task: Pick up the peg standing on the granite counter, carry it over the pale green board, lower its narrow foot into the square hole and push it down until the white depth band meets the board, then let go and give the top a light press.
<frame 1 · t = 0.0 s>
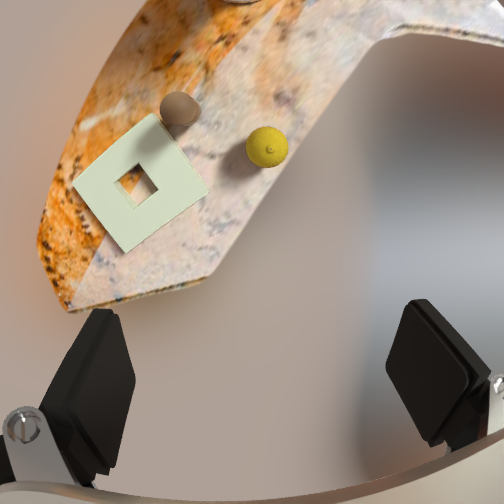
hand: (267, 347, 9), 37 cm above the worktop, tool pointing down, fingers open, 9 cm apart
peg: (189, 112, 39), on the worktop
board: (139, 183, 43), on the worktop
lemon: (263, 145, 42), on the worktop
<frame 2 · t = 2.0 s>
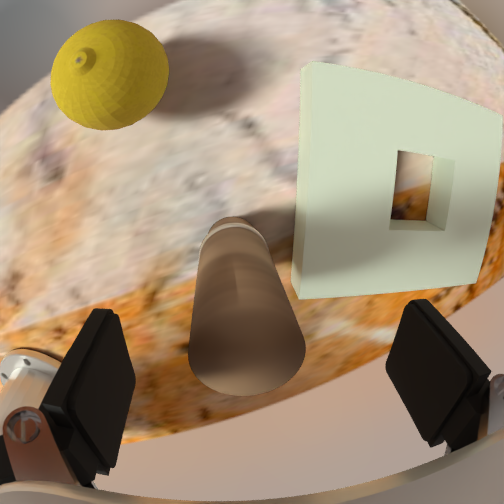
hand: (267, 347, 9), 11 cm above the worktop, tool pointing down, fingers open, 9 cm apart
peg: (232, 241, 20), on the worktop
board: (404, 185, 19), on the worktop
lemon: (134, 86, 15), on the worktop
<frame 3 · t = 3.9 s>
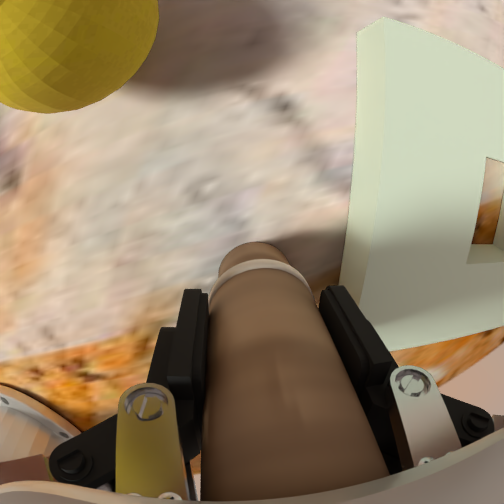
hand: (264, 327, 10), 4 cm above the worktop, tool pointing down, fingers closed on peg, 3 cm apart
peg: (254, 275, 14), on the worktop, touching gripper
board: (476, 201, 13), on the worktop
lemon: (112, 51, 9), on the worktop
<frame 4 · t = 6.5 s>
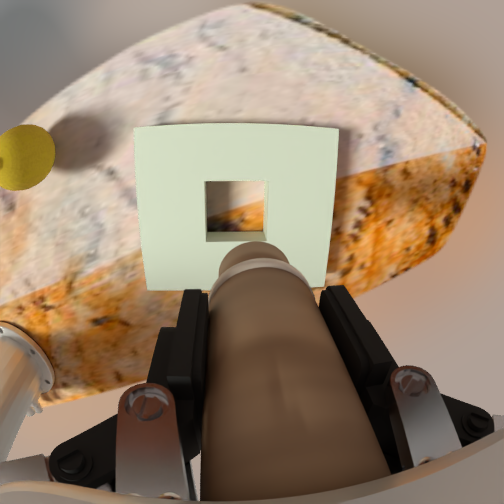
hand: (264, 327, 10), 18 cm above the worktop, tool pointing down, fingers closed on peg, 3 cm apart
peg: (254, 275, 14), point 14 cm above the worktop, touching gripper
board: (235, 204, 27), on the worktop
lemon: (47, 151, 23), on the worktop
when the fingers open (4 cm above the worktop, at t = 9.3 s): peg stays where it is, resting in board.
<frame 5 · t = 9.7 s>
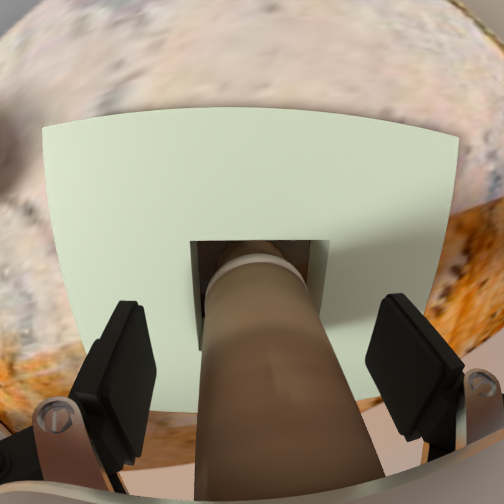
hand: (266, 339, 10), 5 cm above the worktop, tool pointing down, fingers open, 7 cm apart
peg: (251, 271, 14), resting in board
board: (253, 271, 14), on the worktop
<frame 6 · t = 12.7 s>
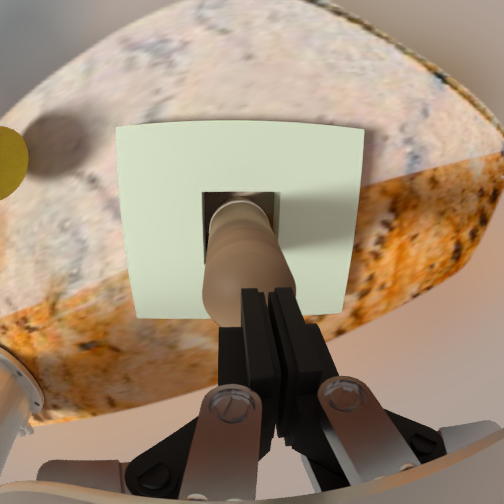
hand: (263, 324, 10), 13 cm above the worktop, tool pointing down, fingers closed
peg: (237, 217, 22), resting in board
board: (239, 218, 22), on the worktop
lemon: (22, 156, 19), on the worktop
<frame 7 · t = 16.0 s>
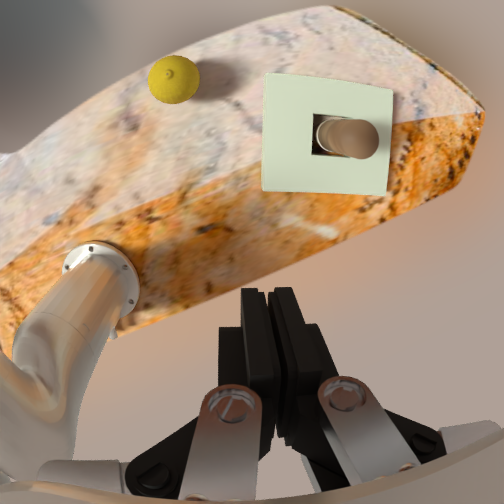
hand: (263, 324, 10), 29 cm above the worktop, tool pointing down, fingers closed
peg: (325, 134, 36), resting in board
board: (326, 135, 36), on the worktop
lemon: (180, 84, 32), on the worktop
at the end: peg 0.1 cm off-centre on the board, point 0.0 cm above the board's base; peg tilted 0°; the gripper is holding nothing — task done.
